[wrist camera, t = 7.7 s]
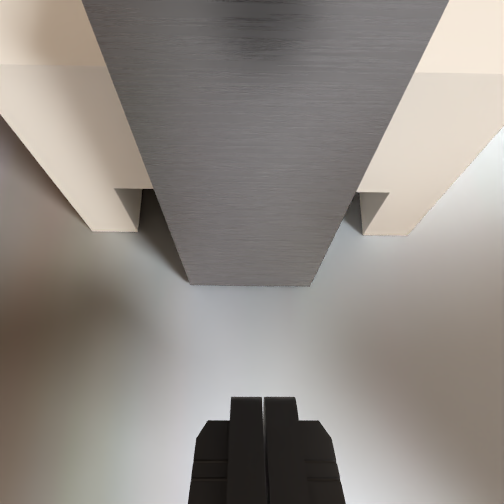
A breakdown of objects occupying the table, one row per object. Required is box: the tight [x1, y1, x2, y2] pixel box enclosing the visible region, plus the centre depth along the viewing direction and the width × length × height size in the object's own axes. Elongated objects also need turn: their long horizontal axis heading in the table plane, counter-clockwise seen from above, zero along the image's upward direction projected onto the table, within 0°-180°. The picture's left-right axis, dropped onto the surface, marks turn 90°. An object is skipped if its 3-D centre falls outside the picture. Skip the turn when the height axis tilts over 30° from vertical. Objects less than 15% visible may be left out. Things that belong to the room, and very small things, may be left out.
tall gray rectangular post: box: [82, 0, 449, 287], centre depth 15 cm, size 15×8×14 cm, turn 0°
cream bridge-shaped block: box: [0, 0, 504, 236], centre depth 17 cm, size 11×14×10 cm
